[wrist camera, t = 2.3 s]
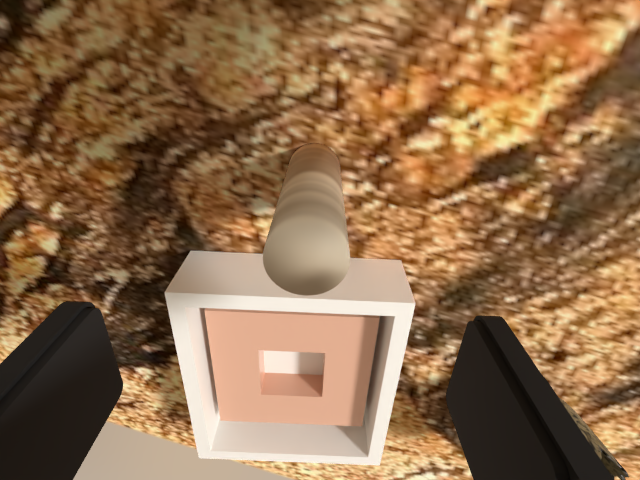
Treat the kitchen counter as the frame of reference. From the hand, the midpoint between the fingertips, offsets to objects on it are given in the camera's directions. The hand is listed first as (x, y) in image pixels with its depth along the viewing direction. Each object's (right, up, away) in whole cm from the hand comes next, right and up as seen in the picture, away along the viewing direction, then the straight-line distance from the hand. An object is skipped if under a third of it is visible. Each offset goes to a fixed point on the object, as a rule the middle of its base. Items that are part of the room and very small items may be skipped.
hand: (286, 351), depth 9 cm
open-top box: (-1, -5, +19) cm, 19 cm away
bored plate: (-1, -5, +19) cm, 19 cm away
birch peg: (+1, +7, +12) cm, 14 cm away
